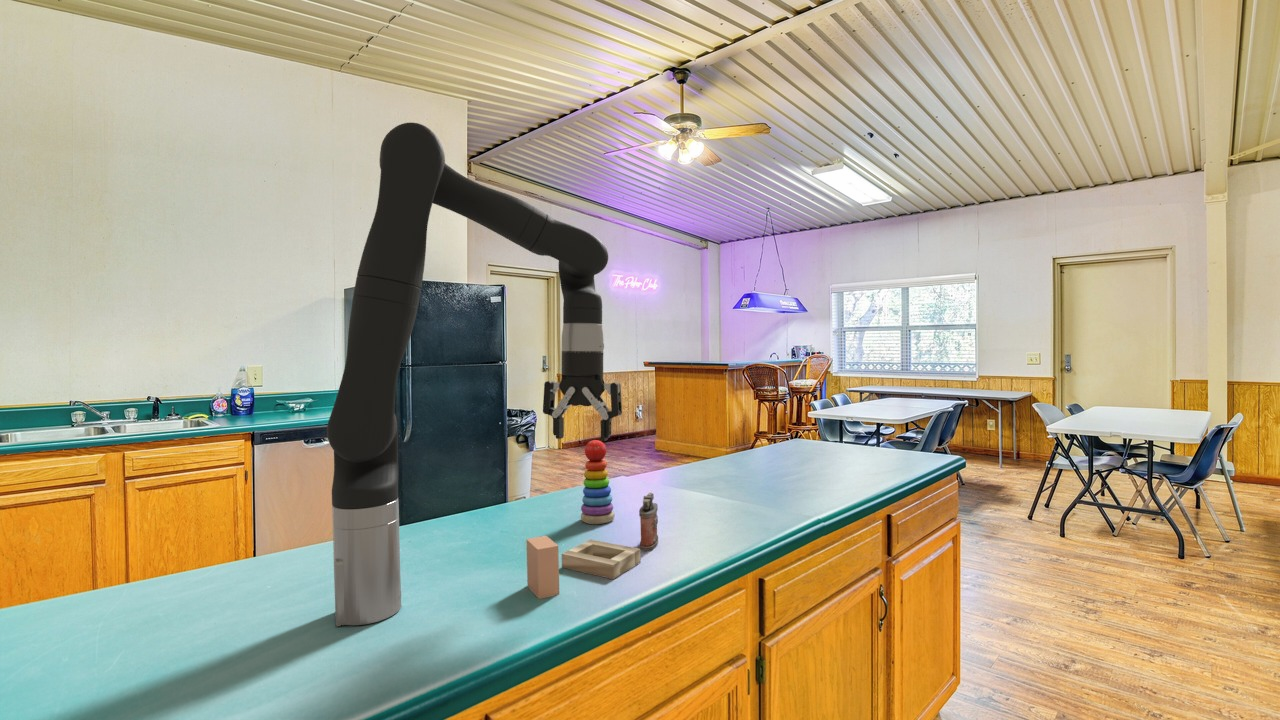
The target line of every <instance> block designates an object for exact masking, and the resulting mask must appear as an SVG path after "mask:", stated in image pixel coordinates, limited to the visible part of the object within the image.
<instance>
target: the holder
mask: <svg viewBox="0 0 1280 720" xmlns="http://www.w3.org/2000/svg"><path fill="white" fill-rule="evenodd" d="M641 556H642V555H641V550H640V548H638V547H637V548H636V547H632V546H627V545H622V544H616V543H611V542H605V541H601V540H595V539H589V540H586V541H585V542H583V543H581V544H579V545H577V546H574V547H573V548H571V549H569V550H566V551H564V552H562V553H561V568H563V569H568V570H572V571H577V572H581V573H584V574H590V575H595V576H598V577H603V578H606V579H611V580H616V579H617V578H618V577H619V576H621V575H624V574H625V573H626V572H627V571H629V570H631V569H633V568H634V567H636V566H637V565H639V564H640V563H641V558H642V557H641Z"/></svg>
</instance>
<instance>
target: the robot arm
mask: <svg viewBox="0 0 1280 720" xmlns="http://www.w3.org/2000/svg"><path fill="white" fill-rule="evenodd" d="M379 168H380V176H379V177H380V179H379V189H378V196H377V197H378V198H377V203H376V210H375V213H374V217H373V220H372V223H371V226H370V229H369V231H368V234H367V238H366V241H365V245H364V247H363V251H362V253H361V258H360V262H359V265H358V269H357V273H356V274H357V276H356V279H355V284H354V290H353V295H352V302H351V307H350V308H351V310H350V314H349V315H350V317H349V326H348V333H347V334H348V335H347V349H346V358H345V364H344V370H343V373H342V377H341V381H340V384H339V388H338V391H337V395H336V398H335V400H334V405H333V407H332V411H331V412H330V416H329V419H328V421H327V424H326V425H327V426H326V427H327V428H326V435H327V436H326V437H327V439H328V443H329V445H330V447H331V449H332V450H333V477H332V478H333V480H332V486H331V506H332V508H331V509H332V537H333V538H332V541H333V542H332V543H333V552H332V553H333V581H334V583H333V585H334V612H335V613H334V615H335V619H334V620H335V627H341V625H342V626H361V625H369V624H373V623H377V622H381V621H384V620H386V619H389V618H390V617H392V616H394V615H395V614H397V613H398V612H399V611H400V610H401V608H402V582H401V581H402V580H401V578H402V577H401V575H402V574H401V549H400V548H401V546H400V545H401V544H400V543H401V542H400V514H399V513H400V512H399V511H400V509H399V506H400V505H399V439H398V437H399V436H398V435H399V433H398V432H399V431H398V430H399V429H398V421H397V415H396V413H395V408H396V407H395V406H396V395H397V385H398V378H399V373H400V369H401V365H402V361H403V358H404V355H405V353H406V350H407V347H408V344H409V342H410V340H411V336H412V333H413V332H412V331H413V329H414V326H415V322H416V318H417V314H418V310H419V304H420V299H421V292H422V289H423V288H422V287H423V279H424V273H425V272H424V271H425V263H426V262H425V261H426V254H427V253H426V252H427V239H428V238H427V236H428V227H429V226H428V225H429V219H430V215H431V209H432V206H433V204H434V205H436V206H439V207H441V208H444V209H447V210H448V211H451V212H454V213H456V214H458V215H460V216H463V217H464V218H466V219H468V220H471V221H473V222H475V223H477V224H479V225H480V226H483V227H485V229H489V230H490V231H492V232H494V233H495V234H497V235H499V236H501V237H503V238H505V239H507V240H508V241H510V242H512V243H513V244H516V245H518V246H519V247H521V248H523V249H525V250H527V251H529V252H531V253H532V254H535V255H538V256H542V257H544V256H546V257H551V258H553V259H556V260H558V277H559V283H560V288H561V294H562V298H563V304H562V316H563V317H562V331H561V348H560V349H561V350H560V351H561V356H560V357H561V360H560V361H561V363H560V365H561V366H560V368H561V369H560V371H561V372H560V374H561V378H560V379H561V380H560V382H557V381H555V380H549V381H548V380H547V381H545V382H544V383H543V385H544V387H543V400H542V401H543V402H542V403H543V404H542V413H543V414H544V415H548V416H551V418H552V434H553V436H555V439H556V440H561V439H564V436H565V433H564V432H565V417H563V416H564V414H565V413H566V411H567V410H568V409H569V408H570V407H571V406H572V407H576V406H577V407H578V406H583V407H593V409H594V410H595V411H597V413H598V414H599V416H600V417H601V420H600V441H601V442H606V441H608V440H609V438H610V437H611V436H612V420H613V419H614V418H617V417H618V416H621V415H622V414H623V407H622V405H623V404H622V388H621V387H622V386H621V383H620V382H619V381H615V382H611V383H610V382H607V383H605V380H604V349H605V343H604V332H603V300H602V296H601V295H600V294H599V293H598V292H596V283H595V275H598V274H599V273H601V272H602V271H603V270H604V269H605V268H606V267H607V265H608V263H609V262H608V261H609V251H608V249H607V247H606V245H605V244H604V243H603V242H602V241H601V239H599V238H598V237H597V236H595V235H594V234H592V233H590V232H588V231H586V230H584V229H582V228H579V227H576V226H574V225H571V224H569V223H566V222H562V221H561V220H557V219H555V218H553V216H550V215H549V214H547V213H545V212H544V211H542V210H541V209H538V208H537V207H535V206H533V205H531V204H530V203H528V202H526V201H524V200H522V199H520V198H517V197H515V196H513V195H511V194H508V193H506V192H503V191H499V190H496V189H493V188H491V187H487V186H485V185H484V184H483V185H482V184H480V183H479V182H476V181H474V180H472V179H470V178H467V177H466V176H464V175H462V174H461V173H459V172H458V171H456V170H455V169H453V168H452V167H451V166H449V165H448V164H446V157H445V152H444V148H443V145H442V142H441V140H440V139H439V138H438V136H437V135H436V134H435V133H434V131H432V130H431V129H430V128H429V127H427V126H426V125H423V124H421V123H418V122H405V123H404V122H403V123H401V124H399V125H396V126H394V127H393V128H392V129H391V130H390V131H388V133H386V135H385V136H384V138H383V140H382V142H381V146H380V151H379ZM559 390H560V392H561V393H562V395H563V397H562V398H561V399H560V400H559V402H558V403H557V406H556V407H555V402H556V401H555V400H556V394H557V393H558V392H559ZM605 390H606V391H607V394H608V395H609V396H610V407H611V408H610V409H611V410H610V409H609V407H608V406H607V405H608V404H607V403H606V402H605V400H604V399H603V397H602V394H603V393H604V392H605Z"/></svg>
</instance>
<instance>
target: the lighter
mask: <svg viewBox="0 0 1280 720" xmlns="http://www.w3.org/2000/svg"><path fill="white" fill-rule="evenodd" d="M654 499H655V497H654V493H653V492H648V493H647V495H644V496H643V499H642V506H641V507H640V508H639V512H638V514H639V515H638V516H639V519H640V542H639V549H640V552H641V551H642V552H652V551H653V550H655V549H656V547H658V544H659V534H658V523H659V517H658V515H657V513H658V508H659V507H658V503H655V502H653V501H654Z"/></svg>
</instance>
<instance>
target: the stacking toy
mask: <svg viewBox="0 0 1280 720" xmlns="http://www.w3.org/2000/svg"><path fill="white" fill-rule="evenodd" d="M584 455H585V457H586V459H587V461H586V462H585V464H584V465H585V469H586V470H585V471H584V473H583V475H584V480H583V486H584V487H583V489H582V494H583V496H582V505H581V506H580V509H581V512H582V513H580V520H581V521H582V522H584V523H586V524H588V525H589V524H590V525H602V524H607V523H610V522H611V521H613V520H614V518H615V512H614V511H613V510H614V505H613V503H612V501H613V496H612V494H611V493H612V492H611V491H612V489H611V487H610V486H609V484H610V478H608V474H609V473H608V470H607V469H606V468H607V467H608V464H607V462H606V460H604V458H605V457H606V455H607V447H606V444H605V443H604V441H601V440H599V439H597V440H596V439H593V440H590V441H588V442H587V443H586V445H585V447H584Z"/></svg>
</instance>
